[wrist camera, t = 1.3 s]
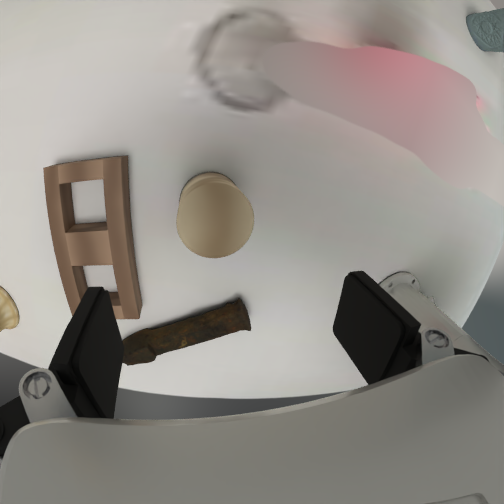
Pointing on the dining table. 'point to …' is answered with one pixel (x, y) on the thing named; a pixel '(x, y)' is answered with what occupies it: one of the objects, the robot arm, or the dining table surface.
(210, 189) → the oak peg
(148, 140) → the dining table surface
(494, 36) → the grey embossed cup
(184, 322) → the hand tool
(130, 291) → the walnut board
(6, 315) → the hand bell
